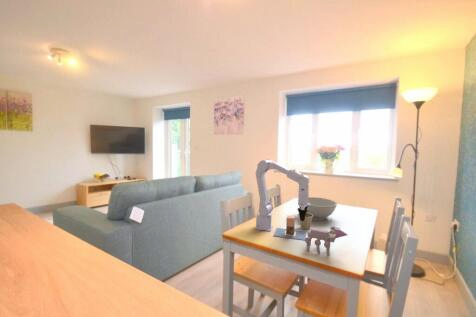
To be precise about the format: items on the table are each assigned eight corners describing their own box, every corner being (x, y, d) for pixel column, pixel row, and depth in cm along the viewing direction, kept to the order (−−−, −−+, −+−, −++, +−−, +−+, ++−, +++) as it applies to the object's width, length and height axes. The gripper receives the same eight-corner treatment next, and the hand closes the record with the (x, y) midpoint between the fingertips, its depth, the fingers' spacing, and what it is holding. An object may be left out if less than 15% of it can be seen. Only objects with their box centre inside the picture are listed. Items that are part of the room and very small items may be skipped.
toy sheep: (348, 252, 118) (349, 226, 117) (346, 262, 109) (347, 234, 108) (308, 243, 128) (308, 219, 127) (303, 252, 119) (303, 226, 118)
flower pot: (294, 226, 154) (295, 213, 154) (306, 224, 158) (306, 211, 157) (303, 231, 146) (303, 217, 145) (315, 229, 149) (316, 216, 148)
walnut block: (286, 234, 139) (286, 226, 139) (287, 231, 144) (287, 223, 143) (293, 235, 138) (294, 227, 138) (294, 232, 142) (294, 224, 142)
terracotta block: (286, 226, 139) (286, 217, 139) (287, 223, 143) (287, 215, 143) (294, 227, 138) (294, 218, 137) (294, 224, 142) (294, 216, 142)
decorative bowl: (329, 212, 184) (330, 197, 183) (341, 224, 157) (342, 207, 156) (295, 211, 187) (295, 196, 186) (300, 223, 160) (301, 205, 159)
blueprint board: (273, 236, 138) (273, 235, 138) (277, 228, 150) (277, 227, 150) (305, 240, 132) (305, 239, 132) (306, 232, 144) (306, 231, 144)
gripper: (310, 199, 129) (309, 223, 130) (310, 193, 142) (310, 215, 143) (297, 198, 131) (296, 222, 132) (298, 192, 145) (298, 214, 146)
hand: (302, 218), depth 138 cm, fingers open, 7 cm apart
